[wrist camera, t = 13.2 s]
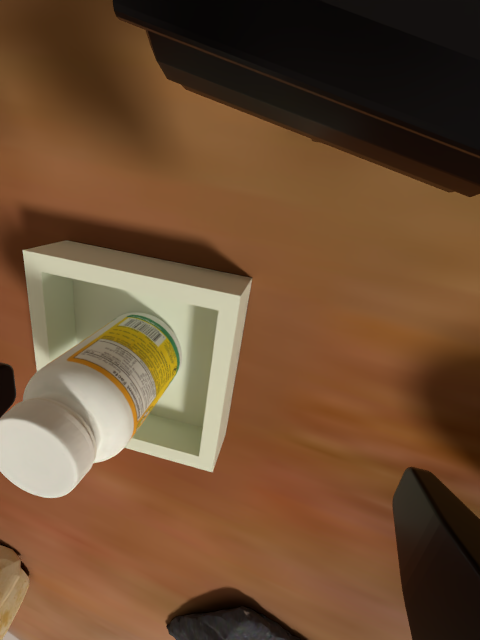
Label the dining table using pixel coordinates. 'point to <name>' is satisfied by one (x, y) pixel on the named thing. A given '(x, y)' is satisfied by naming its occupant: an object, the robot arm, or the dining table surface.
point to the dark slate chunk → (227, 626)
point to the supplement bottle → (87, 404)
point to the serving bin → (163, 303)
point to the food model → (10, 587)
